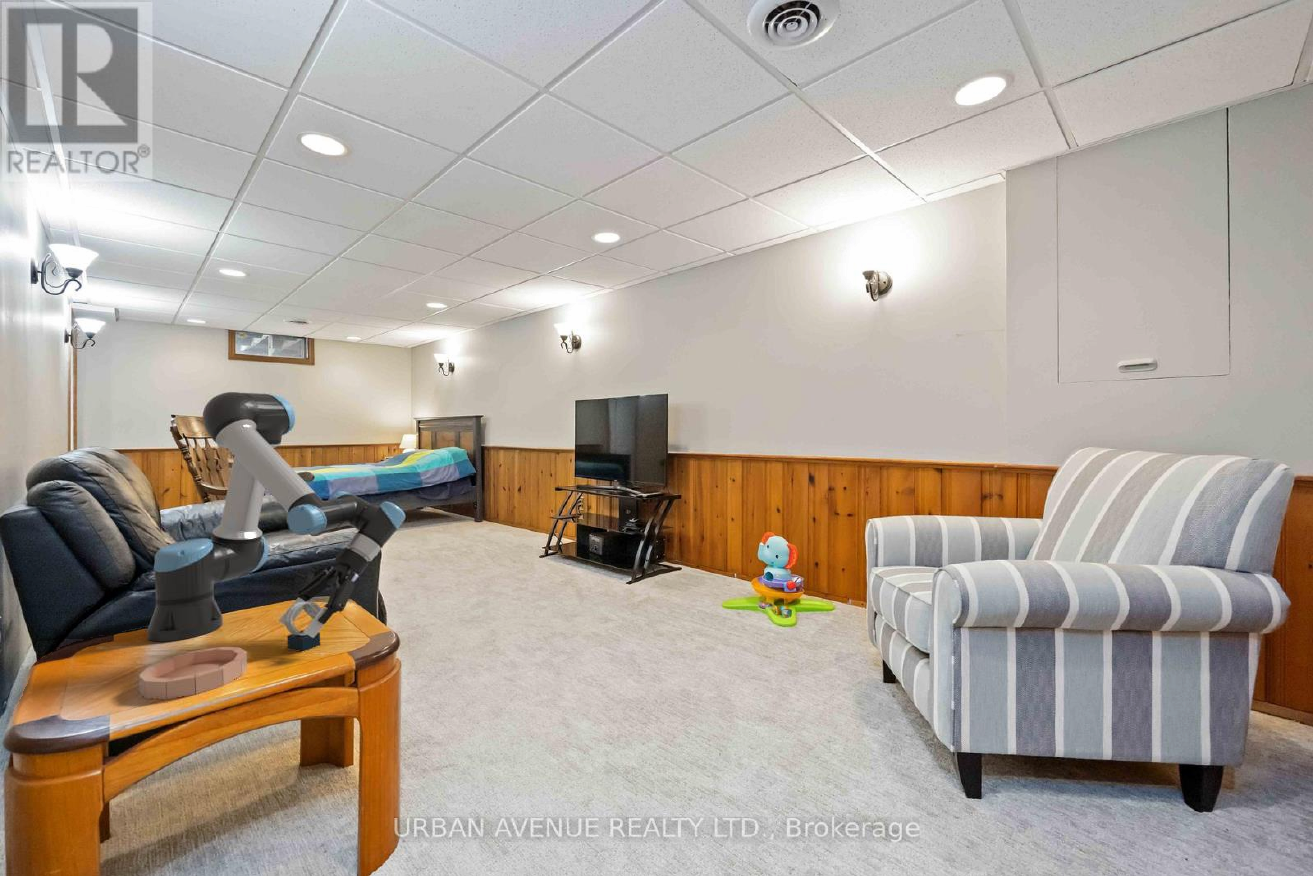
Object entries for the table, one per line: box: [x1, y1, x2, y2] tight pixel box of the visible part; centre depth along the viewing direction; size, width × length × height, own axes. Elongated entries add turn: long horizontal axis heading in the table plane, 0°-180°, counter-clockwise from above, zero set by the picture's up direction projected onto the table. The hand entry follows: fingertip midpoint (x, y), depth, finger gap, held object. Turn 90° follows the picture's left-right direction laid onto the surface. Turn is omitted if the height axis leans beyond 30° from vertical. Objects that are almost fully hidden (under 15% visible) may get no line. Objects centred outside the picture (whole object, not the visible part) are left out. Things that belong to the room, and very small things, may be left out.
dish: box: [138, 646, 248, 700], centre depth 117 cm, size 17×17×4 cm
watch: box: [284, 600, 322, 652], centre depth 134 cm, size 6×8×11 cm
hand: (295, 629), depth 132 cm, fingers open, 13 cm apart
